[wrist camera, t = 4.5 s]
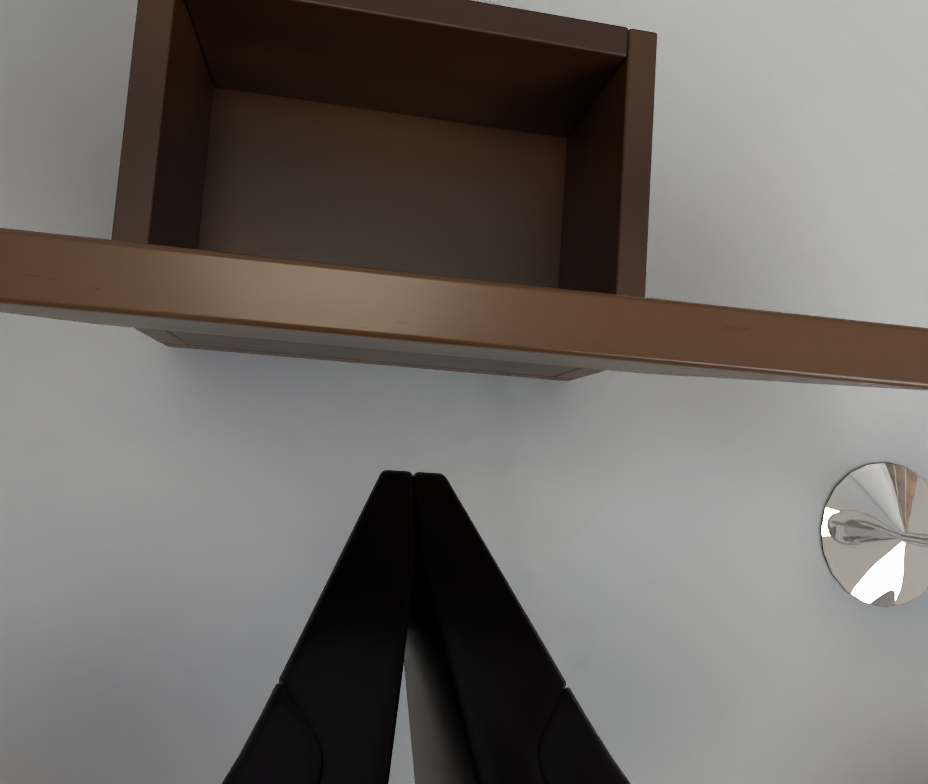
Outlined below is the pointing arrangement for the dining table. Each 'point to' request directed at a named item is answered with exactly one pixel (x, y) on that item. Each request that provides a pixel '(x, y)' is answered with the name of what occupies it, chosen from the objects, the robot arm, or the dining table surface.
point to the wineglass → (879, 534)
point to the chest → (391, 148)
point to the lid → (441, 314)
